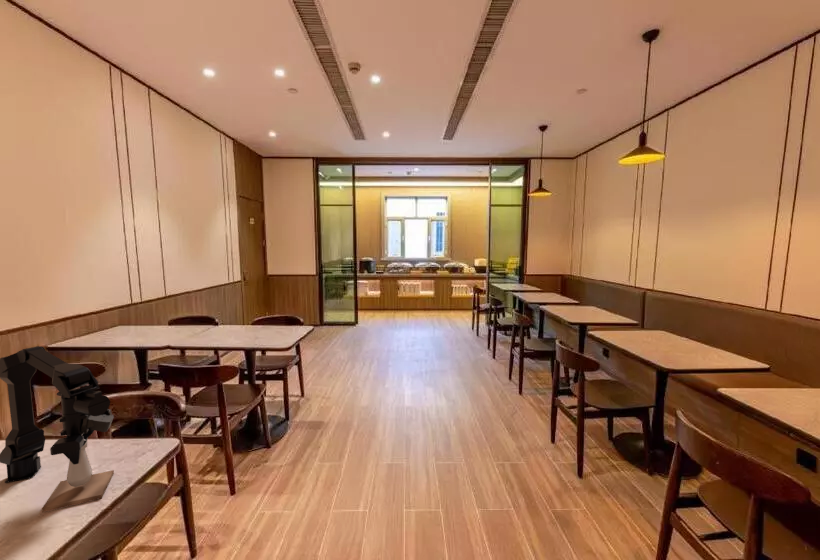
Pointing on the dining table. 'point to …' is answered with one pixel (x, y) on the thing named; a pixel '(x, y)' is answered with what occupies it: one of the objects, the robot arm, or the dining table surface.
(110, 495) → the dining table surface
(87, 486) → the walnut board
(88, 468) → the salt shaker
